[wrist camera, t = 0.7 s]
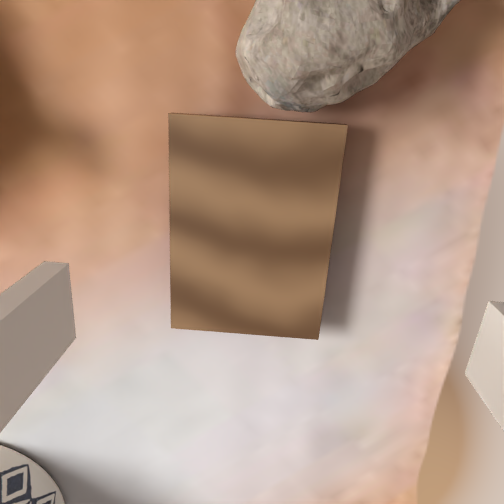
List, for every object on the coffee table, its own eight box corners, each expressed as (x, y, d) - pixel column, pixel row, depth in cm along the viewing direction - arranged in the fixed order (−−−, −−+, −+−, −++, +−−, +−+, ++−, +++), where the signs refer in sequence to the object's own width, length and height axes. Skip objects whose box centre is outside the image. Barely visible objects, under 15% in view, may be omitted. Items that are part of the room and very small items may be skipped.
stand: (177, 112, 32) (168, 113, 30) (341, 122, 32) (348, 125, 29) (178, 311, 39) (171, 328, 36) (315, 322, 38) (318, 339, 36)
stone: (441, 74, 30) (515, 64, 21) (256, 124, 32) (249, 134, 23) (429, -62, 28) (509, -143, 18) (226, 1, 29) (205, -43, 20)
